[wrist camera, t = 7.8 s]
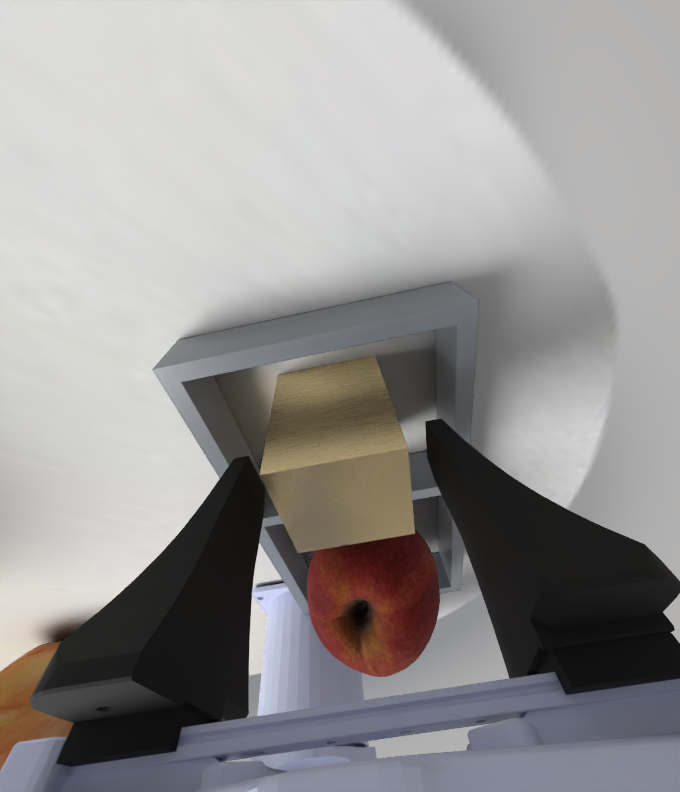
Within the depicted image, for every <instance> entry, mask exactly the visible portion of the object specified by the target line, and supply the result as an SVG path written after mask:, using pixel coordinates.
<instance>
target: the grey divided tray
mask: <svg viewBox="0 0 680 792" xmlns="http://www.w3.org/2000/svg"><path fill="white" fill-rule="evenodd" d="M478 309H479V301H478V300H477V299H476V298H474V297H473V296H471V295H470V294H469V293H467V292H466V291H464V290H463V289H462V288H460V287H459V286H457V285H456V284H455V283H453V282H452V281H451V282H446V283H442V284H437V285H432V286H428V287H423V288H418V289H414V290H409V291H404V292H400V293H395V294H390V295H386V296H381V297H376V298H372V299H367V300H362V301H358V302H353V303H348V304H344V305H339V306H334V307H330V308H325V309H320V310H316V311H311V312H306V313H302V314H297V315H292V316H288V317H283V318H278V319H274V320H269V321H264V322H260V323H255V324H250V325H246V326H241V327H236V328H232V329H227V330H222V331H218V332H213V333H208V334H204V335H199V336H194V337H190V338H185V339H180V340H178V341H177V342H176V343H175V344H174V345H173V346H172V347H171V349H170V350H169V351H168V352H167V353H166V354H165V356H164V357H163V358H162V359H161V360H160V361H159V363H158V364H157V365H156V366H155V367H154V368H153V369H152V370H153V371H154V373H155V374H156V376H157V378H158V379H159V381H160V383H161V384H162V386H163V387H164V389H165V391H166V392H167V394H168V395H169V397H170V399H171V400H172V402H173V404H174V405H175V407H176V408H177V410H178V412H179V413H180V415H181V416H182V418H183V420H184V421H185V423H186V425H187V426H188V428H189V429H190V431H191V433H192V434H193V436H194V437H195V439H196V441H197V442H198V444H199V446H200V447H201V449H202V450H203V452H204V454H205V455H206V457H207V459H208V460H209V462H210V463H211V465H212V467H213V468H214V470H215V471H216V473H217V475H218V476H219V478H221V476H222V475H223V474H224V472H225V471H226V469H227V468H228V466H229V465H230V463H231V462H232V461H233V459H234V458H239V457H244V456H249V457H250V459H251V461H252V463H253V465H254V467H255V469H256V471H257V473H258V475H259V477H260V468H259V466H258V464H257V462H256V460H255V458H254V456H253V454H252V452H251V450H250V448H249V446H248V444H247V442H246V440H245V438H244V436H243V434H242V432H241V430H240V428H239V426H238V424H237V422H236V420H235V418H234V416H233V414H232V412H231V410H230V408H229V406H228V404H227V402H226V400H225V398H224V396H223V394H222V392H221V390H220V388H219V386H218V384H217V382H216V380H215V378H214V376H213V375H218V374H223V373H228V372H233V371H237V370H242V369H247V368H252V367H257V366H262V365H266V364H271V363H276V362H281V361H286V360H291V359H295V358H300V357H305V356H310V355H315V354H320V353H324V352H329V351H334V350H339V349H344V348H349V347H353V346H358V345H363V344H368V343H373V342H378V341H382V340H387V339H392V338H397V337H402V336H407V335H411V334H416V333H421V332H426V331H431V330H435V361H436V412H437V419H442V420H444V421H445V422H446V423H447V424H448V425H449V426H450V427H451V428H452V429H453V430H454V431H455V432H456V433H458V434H459V435H460V436H461V437H462V438H463V439H464V440H465V441H466V442H468V443H469V444H470V436H471V420H472V404H473V388H474V373H475V357H476V341H477V325H478ZM409 466H410V478H411V490H412V500H416V499H422V498H427V497H433V496H438V515H439V553H433V554H432V555H433V558H434V560H435V564H436V567H437V573H438V579H439V590H440V593H446V592H452V591H458V590H461V578H462V563H463V547H464V542H463V540H462V537H461V535H460V533H459V531H458V528H457V526H456V524H455V522H454V520H453V518H452V516H451V514H450V512H449V510H448V507H447V505H446V503H445V501H444V499H443V497H442V495H441V493H440V491H439V488H438V486H437V484H436V482H435V480H434V477H433V474H432V471H431V468H430V465H429V462H428V459H427V451H423V452H418V453H412V454H409ZM260 479H261V477H260ZM261 481H262V479H261ZM262 483H263V481H262ZM263 485H264V483H263ZM264 487H265V485H264ZM259 543H260V544H261V546H262V547H263V549H264V551H265V552H266V554H267V555H268V557H269V559H270V560H271V562H272V564H273V565H274V567H275V568H276V570H277V572H278V573H279V575H280V576H281V578H282V580H283V581H284V583H285V585H286V586H287V588H288V589H289V591H290V593H291V594H292V596H293V597H294V599H295V601H296V602H297V604H298V606H299V607H300V609H301V610H302V612H303V614H304V615H309V609H308V600H307V579H308V570H309V567H308V565H307V563H306V561H305V559H304V557H303V555H302V553H298V552H297V550H296V548H295V546H294V544H293V542H292V540H291V538H290V536H289V534H288V532H287V530H286V528H285V526H284V524H283V522H282V520H281V518H280V516H279V514H278V512H277V510H276V508H275V506H274V504H273V502H272V500H271V497H270V495H269V493H268V491H267V489H266V487H265V505H264V516H263V522H262V528H261V534H260V540H259Z"/></svg>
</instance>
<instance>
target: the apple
mask: <svg viewBox="0 0 680 792" xmlns="http://www.w3.org/2000/svg"><path fill="white" fill-rule="evenodd" d="M307 600H308V609H309V615H310V618H311V622H312V625H313V627H314V630H315V632H316V634H317V636H318V637H319V639H320V641H321V642H322V644H323V645H324V647H325V648H326V649H327V650H328V651H329V652H330V653H331V654H332V655H333V656H334V657H335V658H336V659H338V660H339V661H341V662H342V663H343V664H345V665H346V666H348V667H350V668H352V669H353V670H356V671H359V672H362V673H365V674H368V675H372V676H376V677H386V676H390V675H393V674H395V673H398V672H400V671H402V670H404V669H406V668H407V667H408V666H409V665H411V664H412V663H413V662H414V661H416V660H417V658H418V657H419V656H420V655H421V653H422V652H423V650H424V649H425V647H426V645H427V644H428V642H429V640H430V638H431V635H432V633H433V630H434V628H435V624H436V621H437V616H438V611H439V603H440V590H439V579H438V573H437V567H436V564H435V560H434V558H433V555H432V553H431V551H430V549H429V547H428V545H427V543H426V542H425V540H424V539H423V538H422V537H421V535H420V534H419V533H418V532H417V531H416V530H415V534H410V535H404V536H398V537H392V538H386V539H380V540H374V541H368V542H362V543H357V544H351V545H345V546H339V547H333V548H327V549H321V550H315V551H314V553H313V556H312V559H311V562H310V566H309V570H308V579H307Z"/></svg>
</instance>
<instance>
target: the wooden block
mask: <svg viewBox="0 0 680 792" xmlns="http://www.w3.org/2000/svg"><path fill="white" fill-rule="evenodd" d="M260 477H261V479H262V481H263V483H264V485H265V487H266V489H267V491H268V493H269V495H270V497H271V500H272V502H273V504H274V506H275V508H276V510H277V512H278V514H279V516H280V518H281V520H282V522H283V524H284V526H285V528H286V530H287V532H288V534H289V536H290V538H291V540H292V542H293V544H294V546H295V548H296V550H297V552H298V553H303V552H309V551H315V550H321V549H327V548H333V547H339V546H345V545H351V544H357V543H362V542H368V541H374V540H380V539H386V538H392V537H398V536H404V535H410V534H415V526H414V514H413V502H412V490H411V478H410V466H409V454H408V447H407V444H406V441H405V438H404V435H403V433H402V430H401V427H400V424H399V421H398V419H397V416H396V413H395V410H394V407H393V404H392V402H391V399H390V396H389V393H388V390H387V388H386V385H385V382H384V379H383V376H382V373H381V371H380V368H379V365H378V362H377V359H376V357H375V356H371V357H366V358H361V359H356V360H351V361H346V362H341V363H335V364H330V365H325V366H320V367H315V368H310V369H305V370H300V371H295V372H290V373H285V374H280V375H278V379H277V384H276V389H275V395H274V400H273V406H272V411H271V416H270V422H269V427H268V432H267V438H266V443H265V448H264V454H263V459H262V464H261V470H260Z"/></svg>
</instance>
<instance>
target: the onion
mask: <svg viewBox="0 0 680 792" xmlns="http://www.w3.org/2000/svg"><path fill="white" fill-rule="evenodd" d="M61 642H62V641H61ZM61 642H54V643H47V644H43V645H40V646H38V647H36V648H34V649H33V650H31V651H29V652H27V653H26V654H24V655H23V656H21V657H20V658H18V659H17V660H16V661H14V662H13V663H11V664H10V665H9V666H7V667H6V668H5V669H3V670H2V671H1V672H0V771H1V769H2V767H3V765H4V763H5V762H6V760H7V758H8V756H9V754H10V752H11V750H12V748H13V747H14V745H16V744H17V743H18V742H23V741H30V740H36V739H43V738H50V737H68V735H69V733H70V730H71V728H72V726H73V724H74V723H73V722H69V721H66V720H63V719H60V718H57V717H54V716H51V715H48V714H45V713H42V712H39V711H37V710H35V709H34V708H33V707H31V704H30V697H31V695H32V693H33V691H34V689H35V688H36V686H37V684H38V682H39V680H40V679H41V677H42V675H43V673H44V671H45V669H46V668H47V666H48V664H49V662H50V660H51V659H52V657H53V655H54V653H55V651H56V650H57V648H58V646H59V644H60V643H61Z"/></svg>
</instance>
